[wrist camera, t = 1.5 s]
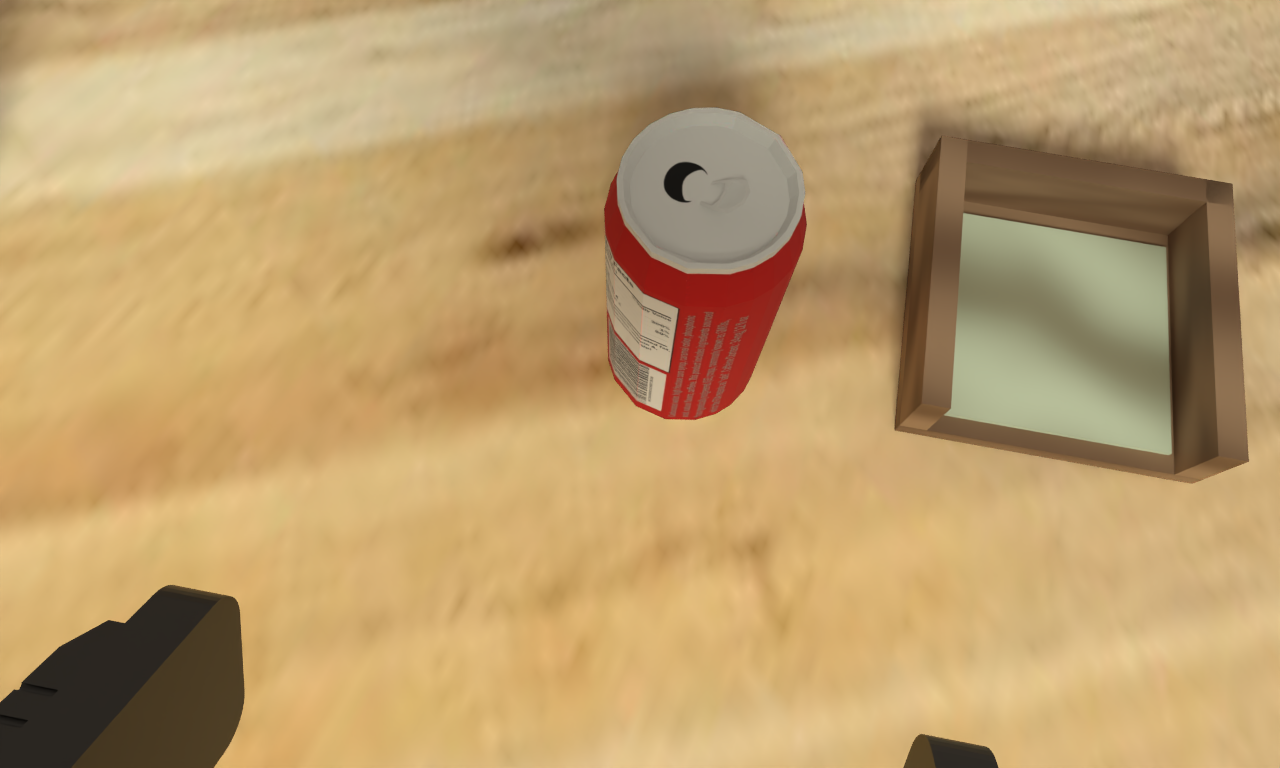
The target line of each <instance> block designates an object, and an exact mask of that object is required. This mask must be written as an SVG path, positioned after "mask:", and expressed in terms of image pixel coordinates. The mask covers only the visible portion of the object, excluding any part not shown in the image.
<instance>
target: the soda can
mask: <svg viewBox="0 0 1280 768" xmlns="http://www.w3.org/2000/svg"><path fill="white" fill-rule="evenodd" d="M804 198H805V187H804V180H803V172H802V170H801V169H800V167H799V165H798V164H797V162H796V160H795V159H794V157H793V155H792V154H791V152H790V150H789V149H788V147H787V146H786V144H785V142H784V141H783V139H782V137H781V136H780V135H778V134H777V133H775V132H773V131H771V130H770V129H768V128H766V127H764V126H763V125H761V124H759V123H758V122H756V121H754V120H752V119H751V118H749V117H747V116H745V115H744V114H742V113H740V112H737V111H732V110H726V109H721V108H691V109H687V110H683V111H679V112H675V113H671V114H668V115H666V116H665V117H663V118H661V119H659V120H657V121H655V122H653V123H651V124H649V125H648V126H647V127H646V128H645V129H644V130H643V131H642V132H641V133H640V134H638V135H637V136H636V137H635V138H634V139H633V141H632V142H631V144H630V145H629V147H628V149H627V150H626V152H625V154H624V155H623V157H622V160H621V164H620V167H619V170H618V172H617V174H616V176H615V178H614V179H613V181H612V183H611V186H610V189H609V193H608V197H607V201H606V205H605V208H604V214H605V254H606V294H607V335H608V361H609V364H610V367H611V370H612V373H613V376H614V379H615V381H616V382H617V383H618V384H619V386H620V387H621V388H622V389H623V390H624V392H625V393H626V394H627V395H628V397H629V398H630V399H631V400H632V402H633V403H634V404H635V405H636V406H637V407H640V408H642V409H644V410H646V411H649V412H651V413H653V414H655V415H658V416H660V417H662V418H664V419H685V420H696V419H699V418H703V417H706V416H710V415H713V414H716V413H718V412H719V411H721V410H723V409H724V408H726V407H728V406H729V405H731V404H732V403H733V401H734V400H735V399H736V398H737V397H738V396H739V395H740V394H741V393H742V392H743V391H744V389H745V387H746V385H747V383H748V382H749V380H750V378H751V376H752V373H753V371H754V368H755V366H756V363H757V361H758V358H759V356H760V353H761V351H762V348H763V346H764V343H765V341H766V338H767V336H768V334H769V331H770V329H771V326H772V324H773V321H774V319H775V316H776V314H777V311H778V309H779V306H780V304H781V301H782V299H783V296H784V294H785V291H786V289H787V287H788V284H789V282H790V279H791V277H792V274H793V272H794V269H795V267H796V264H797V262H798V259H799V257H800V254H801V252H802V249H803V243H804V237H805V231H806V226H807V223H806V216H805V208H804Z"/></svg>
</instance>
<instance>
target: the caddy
mask: <svg viewBox="0 0 1280 768" xmlns="http://www.w3.org/2000/svg"><path fill="white" fill-rule="evenodd" d="M895 430H896V431H902V432H907V433H913V434H918V435H924V436H930V437H935V438H941V439H946V440H952V441H957V442H963V443H969V444H974V445H980V446H985V447H991V448H997V449H1002V450H1008V451H1013V452H1019V453H1025V454H1030V455H1036V456H1041V457H1047V458H1052V459H1058V460H1064V461H1069V462H1075V463H1080V464H1086V465H1092V466H1097V467H1103V468H1108V469H1114V470H1119V471H1125V472H1131V473H1136V474H1142V475H1147V476H1153V477H1159V478H1164V479H1170V480H1175V481H1181V482H1187V483H1195V482H1198V481H1200V480H1203V479H1205V478H1208V477H1210V476H1213V475H1216V474H1218V473H1221V472H1223V471H1226V470H1228V469H1231V468H1233V467H1236V466H1239V465H1241V464H1244V463H1246V462H1249V457H1248V440H1247V423H1246V406H1245V389H1244V372H1243V355H1242V338H1241V321H1240V304H1239V287H1238V270H1237V253H1236V236H1235V219H1234V202H1233V185H1232V184H1231V183H1225V182H1219V181H1213V180H1207V179H1201V178H1195V177H1188V176H1182V175H1176V174H1170V173H1164V172H1158V171H1152V170H1146V169H1140V168H1134V167H1128V166H1122V165H1116V164H1110V163H1104V162H1098V161H1092V160H1086V159H1080V158H1074V157H1068V156H1062V155H1056V154H1050V153H1044V152H1038V151H1032V150H1026V149H1020V148H1014V147H1007V146H1001V145H995V144H989V143H983V142H977V141H971V140H965V139H959V138H953V137H947V136H941V138H940V140H939V141H938V143H937V145H936V147H935V148H934V150H933V152H932V154H931V155H930V157H929V159H928V161H927V163H926V164H925V166H924V168H923V170H922V171H921V173H920V175H919V177H918V178H917V180H916V188H915V199H914V211H913V223H912V234H911V246H910V258H909V269H908V281H907V293H906V305H905V316H904V328H903V340H902V351H901V363H900V375H899V386H898V398H897V410H896V422H895Z"/></svg>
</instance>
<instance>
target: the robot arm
mask: <svg viewBox="0 0 1280 768" xmlns="http://www.w3.org/2000/svg"><path fill="white" fill-rule="evenodd" d="M243 704H244V675H243V658H242V641H241V624H240V610H239V605H238V602H237V601H236V599H235V598H233V597H231V596H226V595H221V594H216V593H211V592H206V591H201V590H196V589H190V588H185V587H180V586H175V585H168V586H165V587H163V588H161V589H160V590H158V591H157V592H156V593H155V594H154V595H153V596H152V597H151V598H150V599H149V600H148V601H147V602H146V603H145V604H144V605H143V606H142V607H141V608H140V609H139V610H138V611H137V612H136V613H135V614H134V615H133V616H132V617H131V618H130V619H129V620H128V621H127V622H126V623H120V622H115V621H110V620H108V621H106V622H104V623H102V624H101V625H99V626H97V627H95V628H93V629H91V630H90V631H88V632H86V633H84V634H82V635H80V636H79V637H77V638H75V639H73V640H71V641H69V642H68V643H66V644H64V645H62V646H60V647H59V648H58V649H57V650H56V651H55V652H53V653H52V654H51V655H50V656H49V657H48V658H47V659H46V660H45V661H44V662H43V663H42V664H41V665H40V666H39V667H38V668H36V669H35V670H34V671H33V672H32V673H31V674H30V675H29V676H28V677H27V678H26V679H25V680H24V681H23V682H22V685H21V687H20V689H19V690H13V691H12V692H11V693H10V694H9V695H8V696H7V697H6V698H5V699H4V700H2V701H1V702H0V768H214V766H215V765H216V764H217V762H218V761H219V759H220V758H221V756H222V755H223V753H224V752H225V750H226V749H227V747H228V746H229V744H230V742H231V740H232V738H233V736H234V734H235V732H236V729H237V727H238V724H239V721H240V718H241V714H242V710H243ZM904 768H998V765H997V762H996V759H995V757H994V755H993V753H992V751H991V750H990V749H989V748H987V747H985V746H980V745H975V744H970V743H965V742H959V741H954V740H949V739H944V738H939V737H934V736H929V735H924V734H920V735H918V736H917V737H916V738H915V740H914V742H913V744H912V746H911V749H910V752H909V754H908V757H907V760H906V762H905V765H904Z"/></svg>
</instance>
